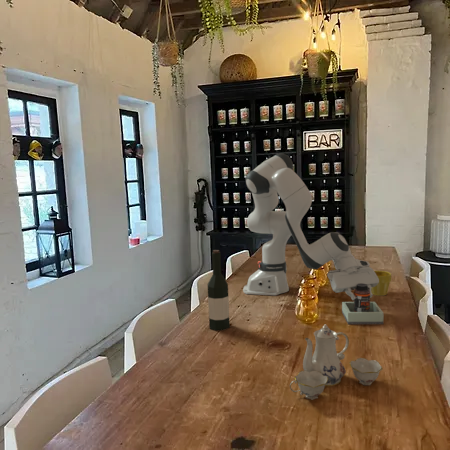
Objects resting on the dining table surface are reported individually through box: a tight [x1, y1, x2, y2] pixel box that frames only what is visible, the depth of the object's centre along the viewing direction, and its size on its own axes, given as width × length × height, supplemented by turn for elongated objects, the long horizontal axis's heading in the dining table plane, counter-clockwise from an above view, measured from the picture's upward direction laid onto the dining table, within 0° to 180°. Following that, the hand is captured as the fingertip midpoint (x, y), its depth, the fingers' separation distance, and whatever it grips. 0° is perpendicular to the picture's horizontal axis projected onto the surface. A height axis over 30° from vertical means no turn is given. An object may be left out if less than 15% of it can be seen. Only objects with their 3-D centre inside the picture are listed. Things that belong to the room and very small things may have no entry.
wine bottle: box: [207, 249, 231, 332], centre depth 163 cm, size 8×8×30 cm
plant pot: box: [371, 270, 392, 297], centre depth 196 cm, size 10×10×10 cm
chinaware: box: [289, 324, 384, 401], centre depth 118 cm, size 28×17×17 cm, turn 115°
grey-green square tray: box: [341, 301, 384, 325], centre depth 167 cm, size 13×13×4 cm
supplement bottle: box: [353, 283, 371, 312], centre depth 166 cm, size 6×6×11 cm
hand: (362, 298), depth 166 cm, fingers closed on supplement bottle, 6 cm apart
